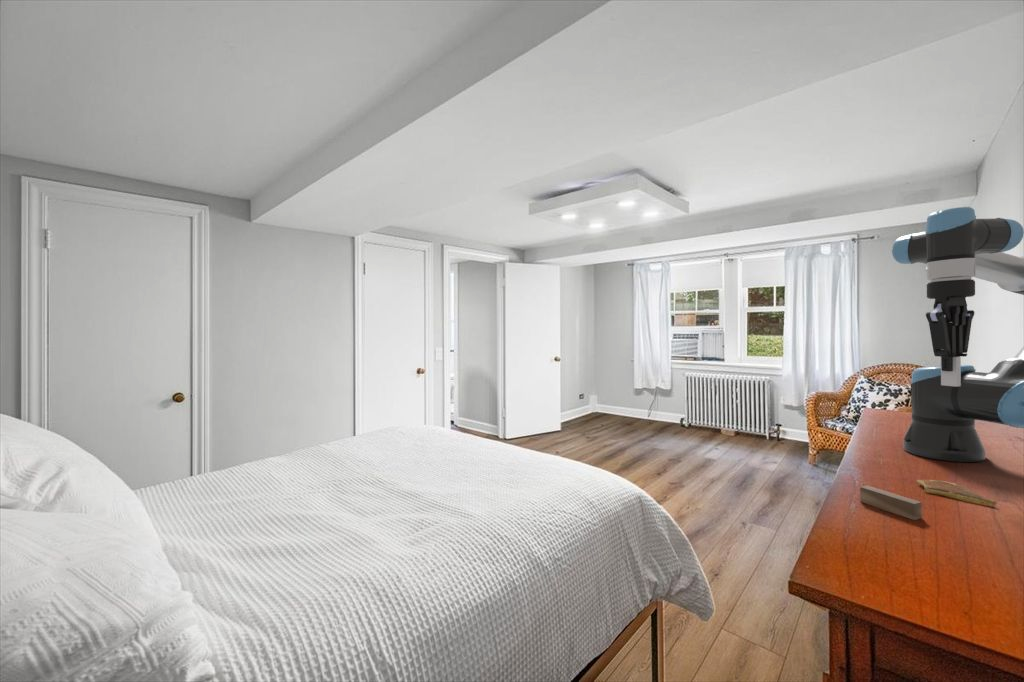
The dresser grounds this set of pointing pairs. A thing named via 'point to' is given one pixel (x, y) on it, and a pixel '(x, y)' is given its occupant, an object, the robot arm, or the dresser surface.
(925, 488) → the shard
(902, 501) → the walnut rail
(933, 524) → the dresser surface
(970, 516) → the dresser surface
